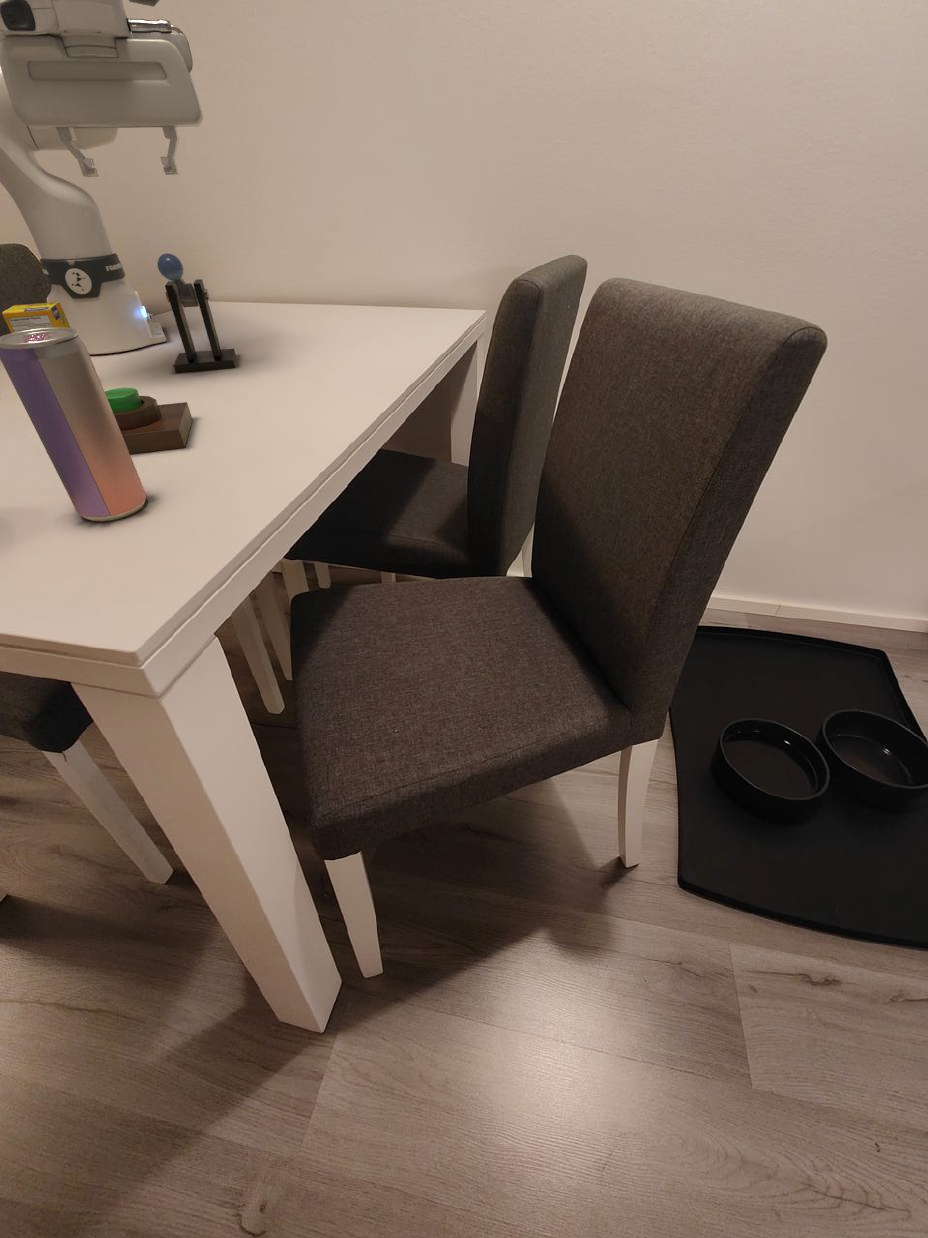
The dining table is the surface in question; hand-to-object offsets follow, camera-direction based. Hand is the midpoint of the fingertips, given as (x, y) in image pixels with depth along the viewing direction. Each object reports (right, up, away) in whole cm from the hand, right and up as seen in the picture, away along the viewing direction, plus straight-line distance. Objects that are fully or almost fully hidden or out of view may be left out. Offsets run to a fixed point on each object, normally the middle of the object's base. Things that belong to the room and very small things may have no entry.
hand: (132, 175), depth 71 cm
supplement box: (-17, -22, +13) cm, 31 cm away
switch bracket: (-1, -14, +22) cm, 26 cm away
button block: (+3, -34, -4) cm, 35 cm away
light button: (+2, -32, -6) cm, 32 cm away
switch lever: (0, -8, +12) cm, 14 cm away
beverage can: (+9, -46, -18) cm, 50 cm away
